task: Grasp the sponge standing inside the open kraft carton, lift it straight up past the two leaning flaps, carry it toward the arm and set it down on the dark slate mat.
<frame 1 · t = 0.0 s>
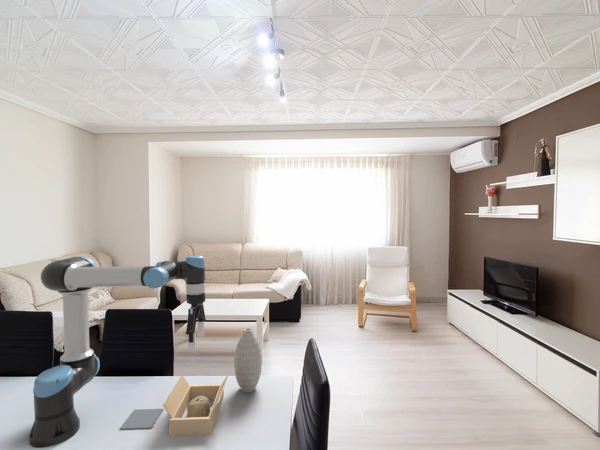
hand: (196, 342, 135), 28 cm above the table, fingers open, 13 cm apart
mat: (142, 419, 129), on the table
carton: (199, 414, 131), on the table
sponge: (199, 415, 131), resting in carton
vase: (248, 389, 151), on the table
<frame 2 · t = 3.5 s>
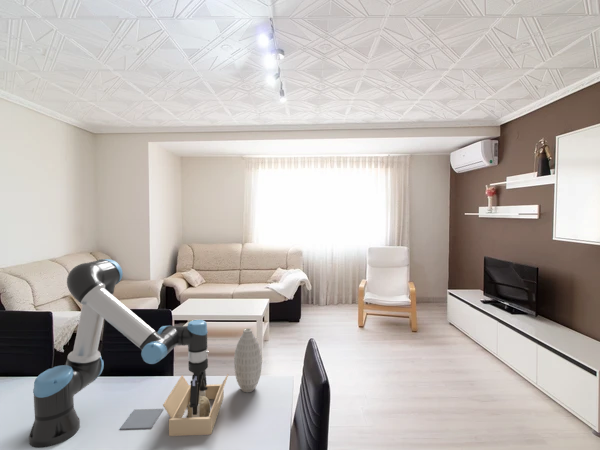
hand: (199, 413, 131), 1 cm above the table, fingers closed on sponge, 9 cm apart
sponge: (199, 415, 131), resting in carton, touching gripper
everything else where it was.
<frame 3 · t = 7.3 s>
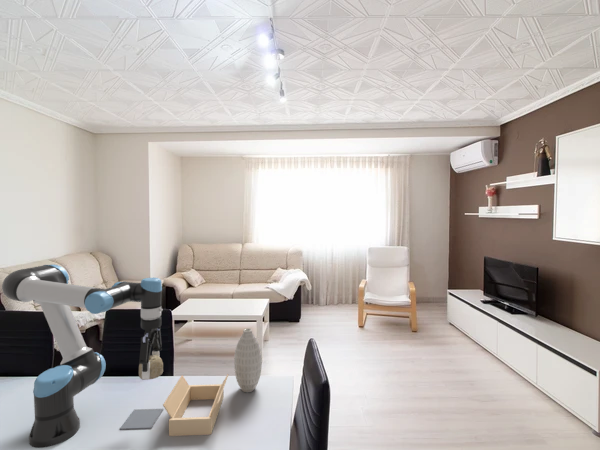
hand: (150, 372, 129), 19 cm above the table, fingers closed on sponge, 9 cm apart
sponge: (150, 374, 129), point 18 cm above the table, touching gripper
everything else where it was.
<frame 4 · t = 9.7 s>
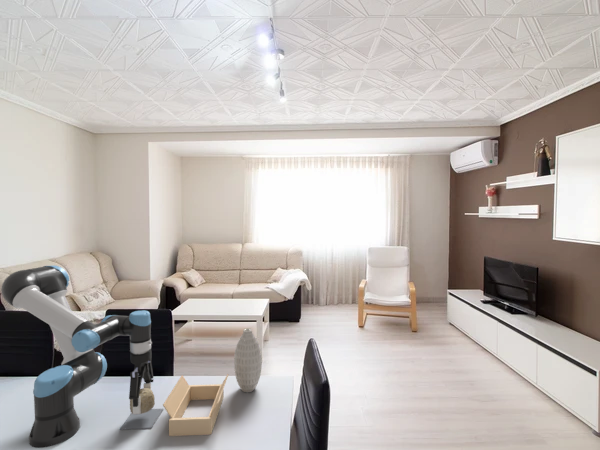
hand: (142, 405, 129), 5 cm above the table, fingers closed on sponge, 9 cm apart
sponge: (142, 408, 129), point 5 cm above the table, touching gripper
everything else where it was.
when the fingers open (1 cm above the table, at t = 11.4 s): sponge stays where it is, resting on mat.
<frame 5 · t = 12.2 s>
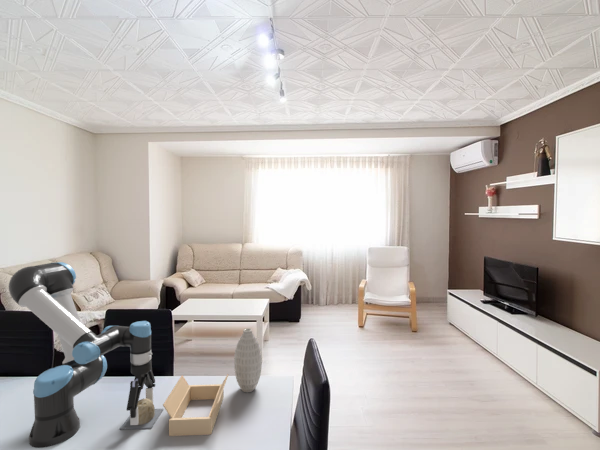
hand: (142, 413, 129), 2 cm above the table, fingers open, 13 cm apart
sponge: (142, 418, 129), resting on mat
everything else where it was.
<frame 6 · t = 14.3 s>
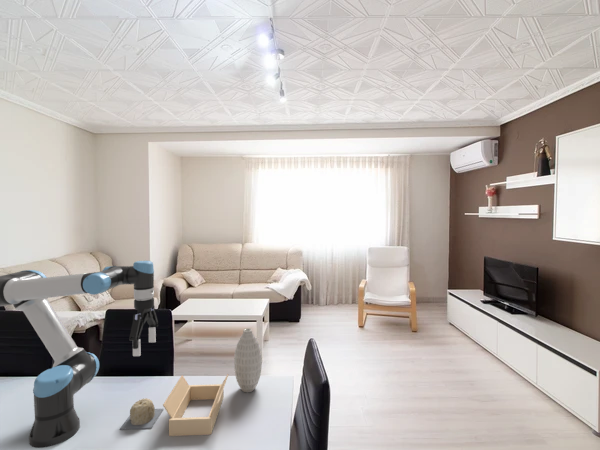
hand: (144, 348, 134), 26 cm above the table, fingers open, 13 cm apart
nothing on the table moved.
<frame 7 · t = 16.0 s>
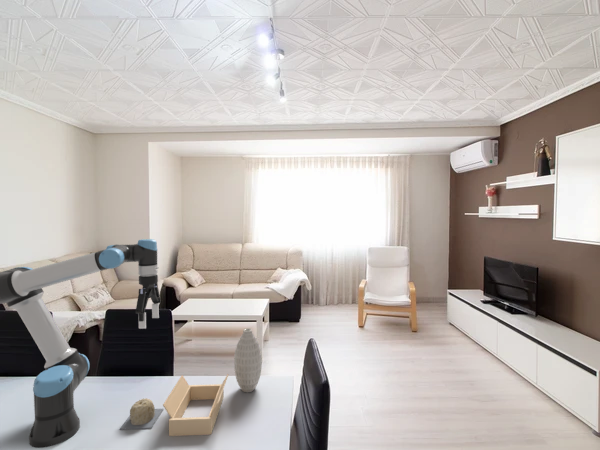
hand: (149, 322, 141), 35 cm above the table, fingers open, 13 cm apart
nothing on the table moved.
at the end: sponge inside the target area on the mat (0.1 cm from its centre), point 0.2 cm above the mat's base; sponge touching mat; the gripper is holding nothing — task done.
